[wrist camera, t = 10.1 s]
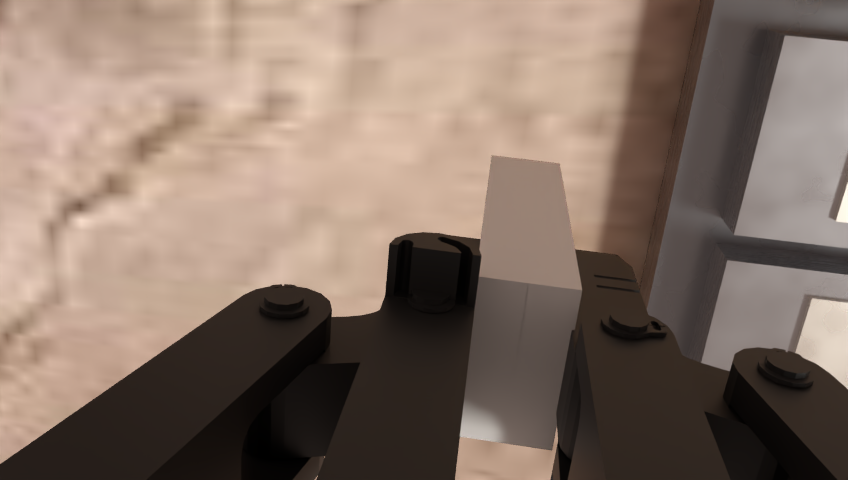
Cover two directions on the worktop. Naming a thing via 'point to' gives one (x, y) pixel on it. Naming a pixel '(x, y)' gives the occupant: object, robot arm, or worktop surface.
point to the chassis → (757, 187)
